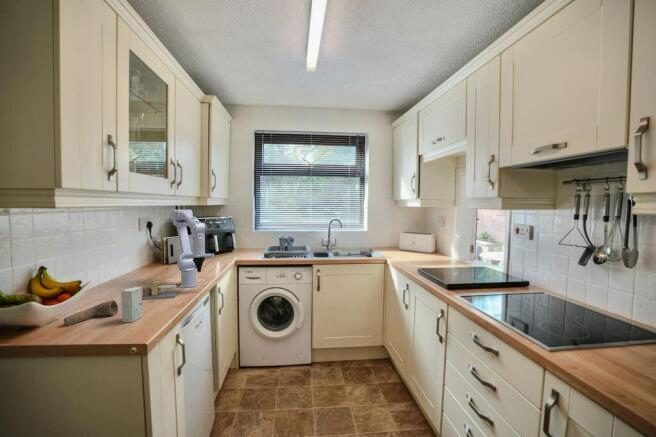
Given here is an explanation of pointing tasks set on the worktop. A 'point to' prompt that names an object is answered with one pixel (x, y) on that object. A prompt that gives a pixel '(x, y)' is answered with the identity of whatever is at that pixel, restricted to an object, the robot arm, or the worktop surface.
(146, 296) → the rail
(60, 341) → the worktop surface
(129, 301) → the skincare box
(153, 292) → the collar
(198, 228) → the robot arm
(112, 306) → the pipe
